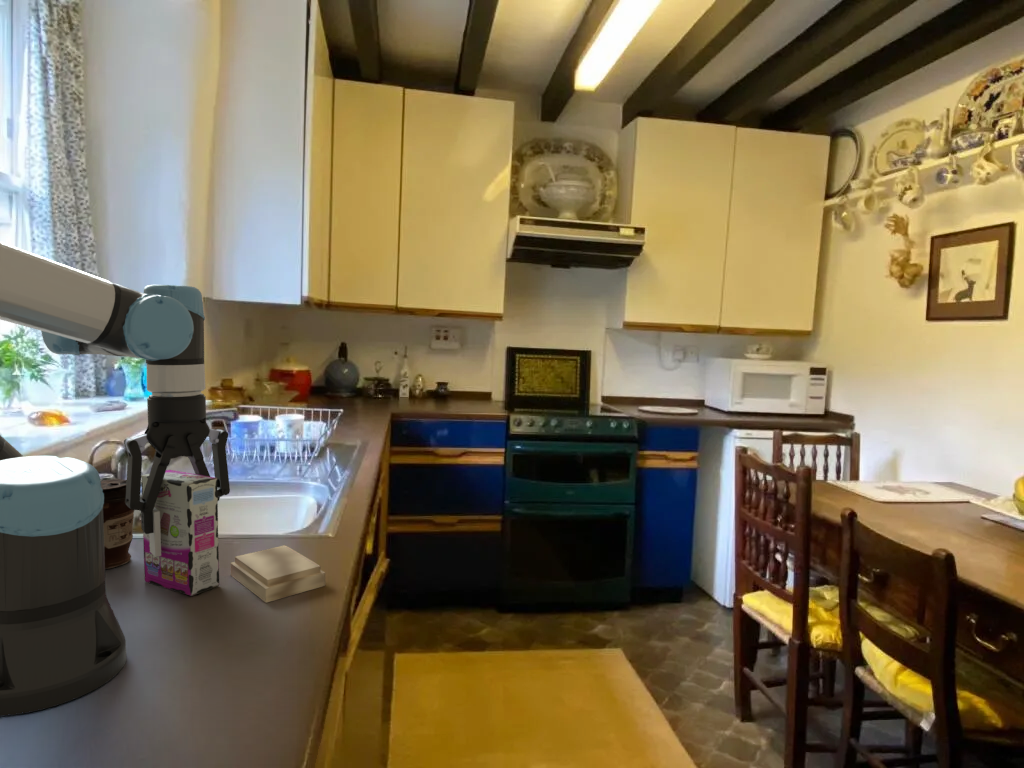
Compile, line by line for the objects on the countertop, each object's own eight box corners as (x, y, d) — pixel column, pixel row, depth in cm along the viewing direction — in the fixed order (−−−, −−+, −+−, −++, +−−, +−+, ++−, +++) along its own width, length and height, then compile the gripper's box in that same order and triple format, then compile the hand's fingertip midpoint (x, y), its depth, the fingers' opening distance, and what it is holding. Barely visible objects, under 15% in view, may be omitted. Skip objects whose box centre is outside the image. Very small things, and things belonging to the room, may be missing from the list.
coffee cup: (152, 555, 107) (149, 478, 106) (116, 574, 99) (113, 491, 98) (103, 552, 108) (100, 476, 107) (63, 571, 100) (60, 489, 99)
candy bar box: (222, 585, 96) (219, 476, 94) (191, 598, 91) (188, 484, 90) (173, 570, 101) (170, 467, 99) (142, 581, 96) (138, 474, 95)
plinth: (265, 602, 90) (265, 581, 90) (230, 575, 99) (230, 556, 99) (325, 585, 96) (325, 566, 96) (286, 561, 106) (286, 543, 105)
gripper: (234, 387, 103) (237, 529, 105) (93, 394, 89) (100, 556, 92) (253, 391, 97) (255, 540, 99) (106, 400, 84) (113, 571, 86)
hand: (181, 548), depth 96 cm, fingers closed on candy bar box, 6 cm apart
